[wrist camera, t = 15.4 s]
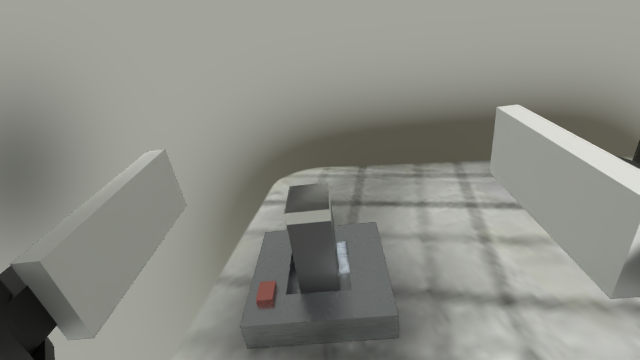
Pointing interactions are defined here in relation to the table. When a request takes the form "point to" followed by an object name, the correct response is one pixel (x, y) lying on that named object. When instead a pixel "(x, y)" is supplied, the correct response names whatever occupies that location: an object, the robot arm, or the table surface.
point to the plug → (312, 237)
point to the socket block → (321, 295)
